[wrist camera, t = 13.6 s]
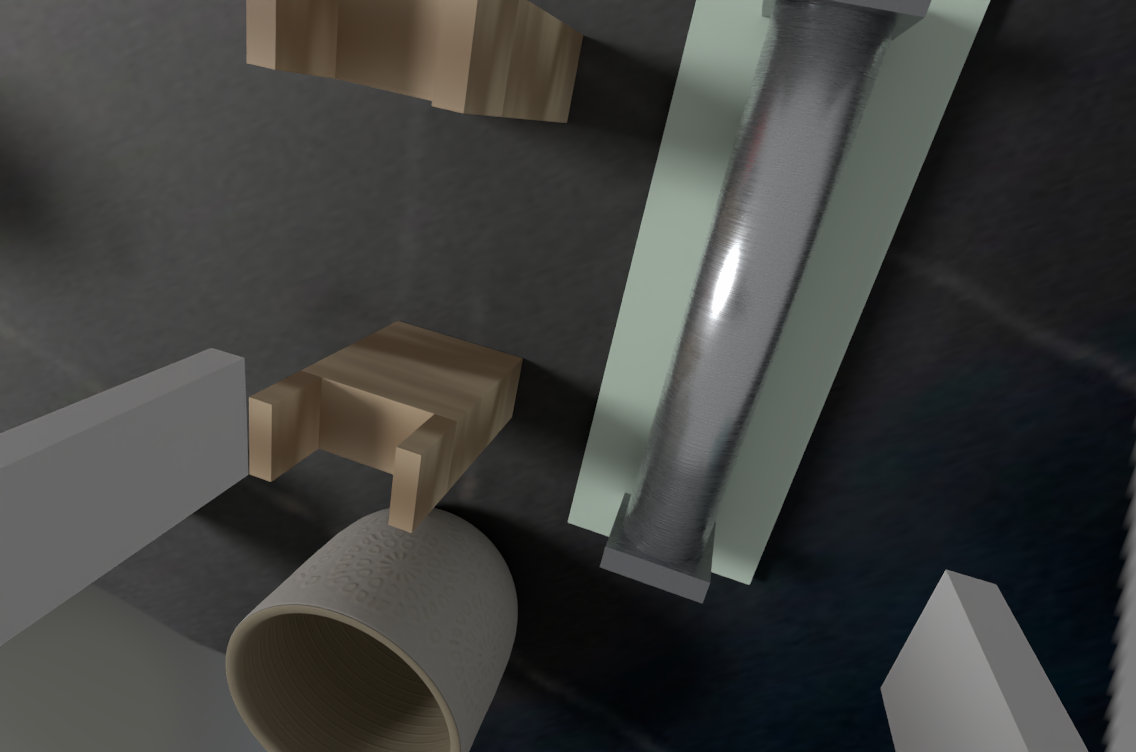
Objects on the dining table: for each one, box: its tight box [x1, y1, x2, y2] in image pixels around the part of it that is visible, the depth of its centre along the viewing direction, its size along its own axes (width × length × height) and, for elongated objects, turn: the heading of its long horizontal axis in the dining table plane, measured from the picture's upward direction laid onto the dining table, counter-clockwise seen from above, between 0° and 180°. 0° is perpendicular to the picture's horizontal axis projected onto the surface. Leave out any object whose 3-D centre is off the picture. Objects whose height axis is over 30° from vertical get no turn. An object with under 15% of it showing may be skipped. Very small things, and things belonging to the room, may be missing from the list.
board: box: [568, 0, 990, 585], centre depth 28 cm, size 28×10×1 cm, turn 168°
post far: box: [249, 321, 523, 533], centre depth 29 cm, size 4×7×11 cm, turn 78°
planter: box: [226, 508, 518, 752], centre depth 34 cm, size 12×12×11 cm
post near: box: [246, 0, 583, 123], centre depth 23 cm, size 4×7×11 cm, turn 78°
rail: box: [600, 0, 931, 603], centre depth 25 cm, size 24×5×5 cm, turn 168°
